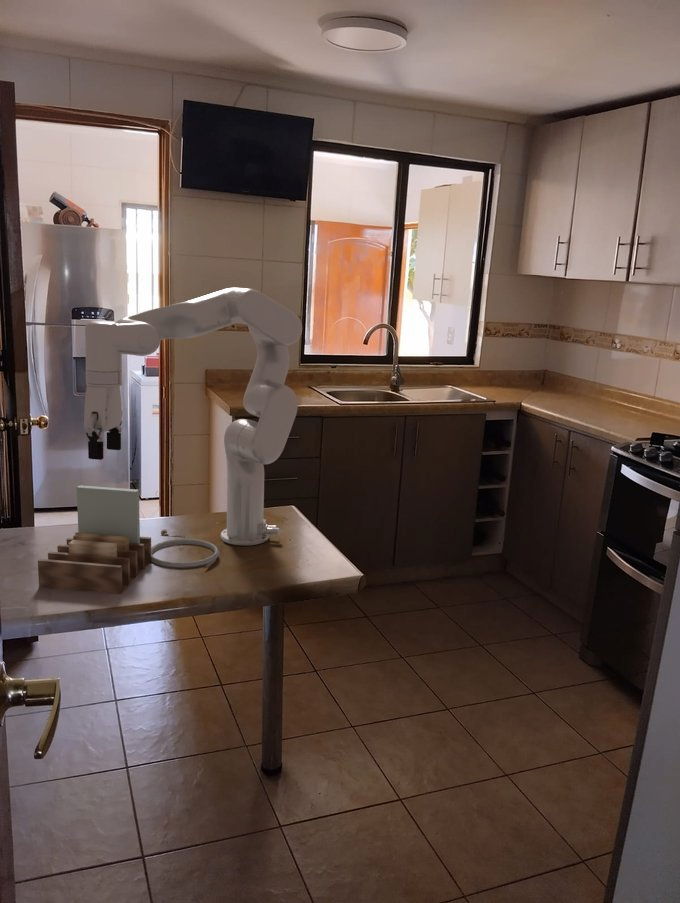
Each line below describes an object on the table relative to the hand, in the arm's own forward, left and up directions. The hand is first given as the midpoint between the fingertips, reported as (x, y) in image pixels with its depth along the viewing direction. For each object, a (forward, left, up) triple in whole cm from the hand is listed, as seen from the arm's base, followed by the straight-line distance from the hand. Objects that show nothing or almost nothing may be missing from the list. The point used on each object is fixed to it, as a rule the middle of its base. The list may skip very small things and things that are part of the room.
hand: (105, 454), depth 166 cm
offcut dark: (0, +4, -26) cm, 26 cm away
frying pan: (-12, -13, -28) cm, 33 cm away
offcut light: (0, +9, -26) cm, 27 cm away
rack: (0, +6, -27) cm, 28 cm away
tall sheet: (0, 0, -26) cm, 26 cm away
